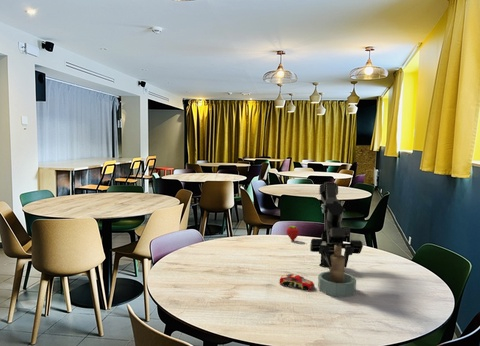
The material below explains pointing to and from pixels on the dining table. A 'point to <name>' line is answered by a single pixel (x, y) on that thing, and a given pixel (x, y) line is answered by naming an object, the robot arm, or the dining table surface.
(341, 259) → the walnut bottle
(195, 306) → the dining table surface
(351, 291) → the bowl
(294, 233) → the strawberry
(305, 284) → the race car
